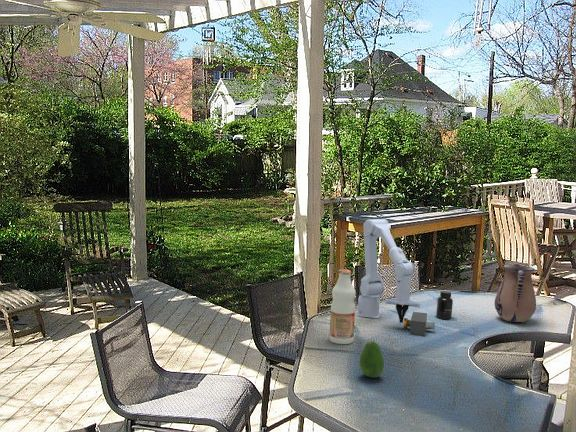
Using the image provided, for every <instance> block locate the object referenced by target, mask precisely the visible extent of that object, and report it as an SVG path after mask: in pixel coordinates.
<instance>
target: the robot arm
mask: <svg viewBox="0 0 576 432" xmlns="http://www.w3.org/2000/svg"><path fill="white" fill-rule="evenodd" d="M362 226H363V243H364V262H365V263H364V266H365V275H364V276H363V277H362V278H361V279H360V287H359V291H360V295H359V296H358V301H357V317H361V318H362V317H363V318H370V319H379V317H380V316H381V312H380V299H381V298H380V297H382V295H383V294H384V292H385V285H384V282H383V278H382V277H381V276H380V275H379V269H378V251H377V250H378V249H377V240H378V238H381V239H382V241H383V242H384V244H385V245H386V247H387V249H388V250H389V251H388V255H389V257H390V260H391V261H392V263H393V265H394V273H395V279H396V290H395V293H396V294H395V298H385V299H384V305H395V310H396V312H397V315H398V321H399V323H400V324H404V318H405V315H406V313H407V312H408V310H409V307H413V308H418V309H419V308H421V302H419V301H415V300H411V296H410V295H411V288H412V287H411V285H412V276H413V275H414V274H415V272H416V271H415V269H416V268H415V265H414V263H413V262H411V261H410V260H408V259H407V257H406V255H405V253H404V252H403V250H402V248H401V247H398V246H397V244H396V242H395V240H394V237H393V235H392V234H391V232H390V230H391V224H390V223H389V221H388V219H386V218H376V219H374V218H373V219H370V218H369V219H366V220H365V222H363V225H362Z"/></svg>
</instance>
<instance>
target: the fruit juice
mask: <svg viewBox="0 0 576 432" xmlns="http://www.w3.org/2000/svg"><path fill="white" fill-rule="evenodd" d="M337 272H338V277H337V278H338V279H337V282H336V283H335V285H334V287H333V288H332V291H331V296H332V301H331V305H330V317H329V337H328V338H329V340H330V342H331V343H334V344H338V345H349V344H352V343H353V342H354V337H355V336H354V335H355V319H356V318H355V317H356V304H355V299H356V289H355V287H354V286H353V283H352V279H351V275H352V270H350V269H346V268H345V269H344V268H342V269H338V271H337Z"/></svg>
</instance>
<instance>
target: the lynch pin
mask: <svg viewBox="0 0 576 432" xmlns="http://www.w3.org/2000/svg"><path fill="white" fill-rule="evenodd" d="M410 324H411V319H409V318H407V317H404V319H403V328H405V329H408V327H409V328H410ZM435 327H436V326H435V322H432V321H431V322H429V321H427V322H426V330H433V331H434V330H435Z"/></svg>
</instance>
